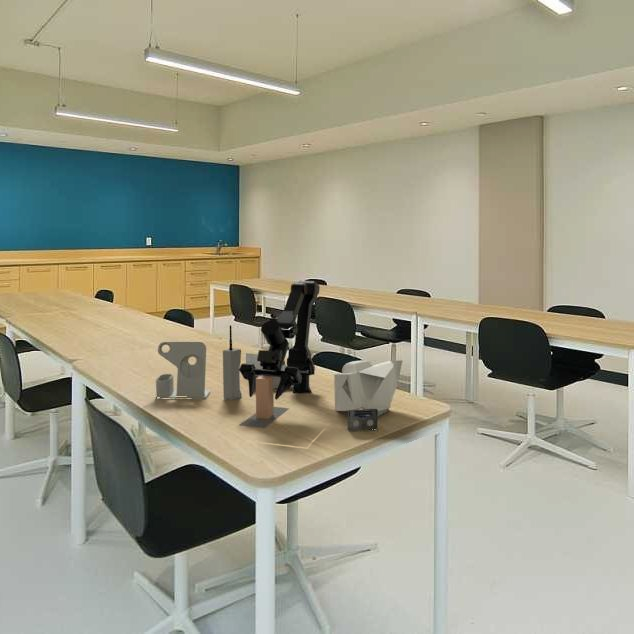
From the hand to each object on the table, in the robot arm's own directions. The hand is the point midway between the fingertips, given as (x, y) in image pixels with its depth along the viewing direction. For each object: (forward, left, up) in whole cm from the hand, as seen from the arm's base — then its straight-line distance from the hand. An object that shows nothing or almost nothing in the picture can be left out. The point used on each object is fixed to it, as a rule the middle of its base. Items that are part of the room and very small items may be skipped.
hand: (263, 397), depth 169 cm
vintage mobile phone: (-23, -9, -7) cm, 26 cm away
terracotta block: (-1, +1, -6) cm, 6 cm away
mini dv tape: (+13, +28, -7) cm, 31 cm away
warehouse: (-50, +3, -7) cm, 51 cm away
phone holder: (-29, -26, -7) cm, 40 cm away
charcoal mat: (-1, +1, -7) cm, 7 cm away
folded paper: (-4, +35, -7) cm, 36 cm away
